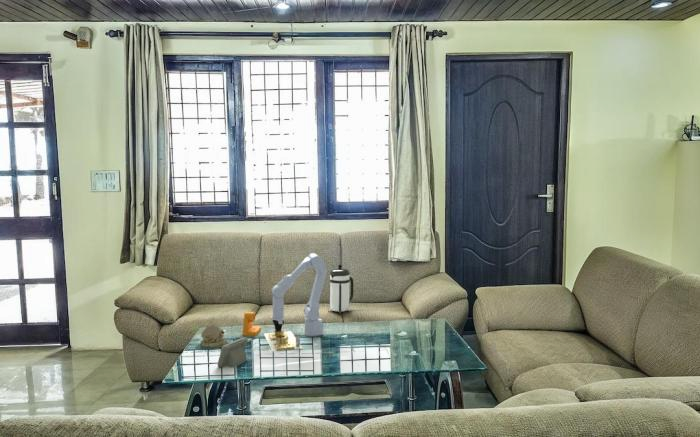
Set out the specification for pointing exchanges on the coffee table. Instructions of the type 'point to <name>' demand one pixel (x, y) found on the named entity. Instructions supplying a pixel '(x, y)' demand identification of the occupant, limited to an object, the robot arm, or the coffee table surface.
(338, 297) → the coffee press
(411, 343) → the coffee table surface
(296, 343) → the pin
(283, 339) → the fixed leaf
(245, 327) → the bracket
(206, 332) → the ceramic model
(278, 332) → the loose leaf
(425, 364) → the coffee table surface
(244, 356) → the digital clock
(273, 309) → the robot arm
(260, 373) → the coffee table surface
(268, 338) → the board
